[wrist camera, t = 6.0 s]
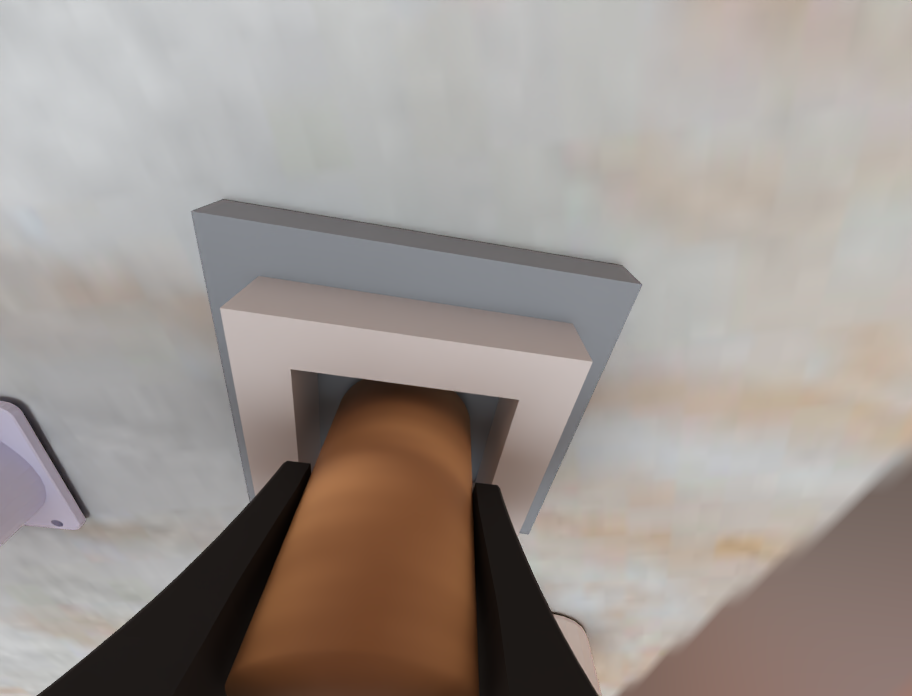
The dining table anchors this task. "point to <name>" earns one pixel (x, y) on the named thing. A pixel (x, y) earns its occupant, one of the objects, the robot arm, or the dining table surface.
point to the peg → (375, 559)
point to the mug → (579, 647)
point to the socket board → (405, 336)
